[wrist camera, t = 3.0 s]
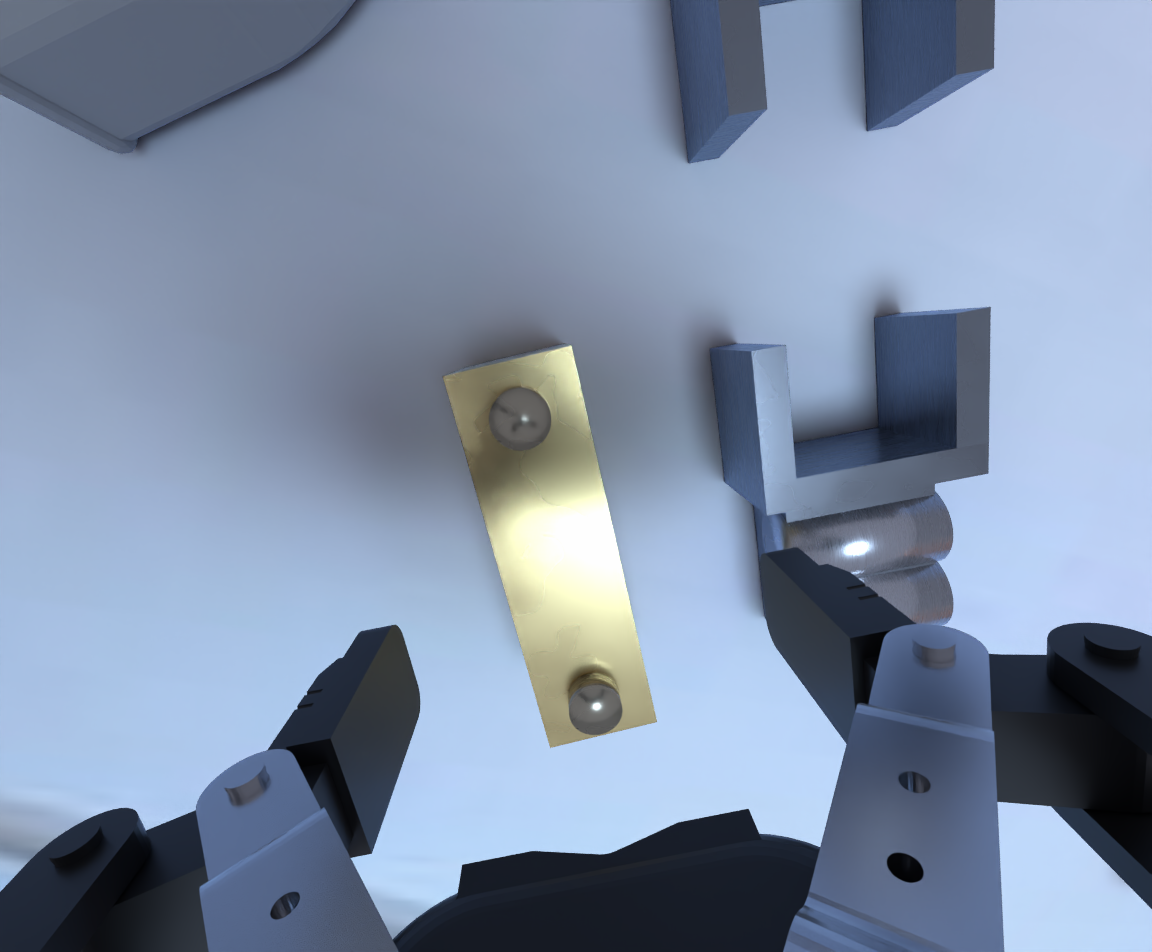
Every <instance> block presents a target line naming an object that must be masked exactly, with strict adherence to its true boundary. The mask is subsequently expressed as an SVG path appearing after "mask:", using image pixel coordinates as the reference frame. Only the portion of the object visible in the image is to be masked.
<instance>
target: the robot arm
mask: <svg viewBox="0 0 1152 952" xmlns="http://www.w3.org/2000/svg"><path fill="white" fill-rule="evenodd" d="M760 569H761V578H762V587H763V596H764V605H765V614H766V621H767V626H768V630H769V633H770V636H771V638H772V641H773V643H774V645H775V647H776V648H777V650H778V651H779V652H780V654H781V655H782V656H783V658H784V659H785V660H786V662H787V663H788V665H789V666H790V667H791V669H792V670H793V671H794V673H795V674H796V675H797V677H798V678H799V680H800V681H801V682H802V684H803V685H804V686H805V688H806V689H807V690H808V692H809V693H810V695H811V696H812V697H813V699H814V700H815V701H816V703H817V704H818V705H819V707H820V708H821V710H822V711H823V712H824V714H825V715H826V716H827V718H828V719H829V720H830V722H831V723H832V725H833V726H834V727H835V729H836V730H837V731H838V733H839V734H840V736H841V737H842V738H843V740H844V741H845V742H846V744H847V745H846V749H845V753H844V757H843V761H842V765H841V769H840V772H839V776H838V780H837V784H836V788H835V792H834V796H833V800H832V804H831V808H830V811H829V815H828V819H827V823H826V827H825V831H824V835H823V839H822V843H821V847H818V846H815V845H813V844H810V843H807V842H803V841H800V840H796V839H792V838H789V837H783V836H776V835H770V834H759V832H758V830H757V828H756V825H755V823H754V821H753V818H752V816H751V814H750V811H749V809H745V810H740V811H735V812H730V813H725V814H720V815H714V816H709V817H704V818H699V819H694V820H689V821H684V822H679V823H676V824H674V825H672V826H670V827H667V828H665V829H663V830H661V831H659V832H657V833H654V834H652V835H650V836H648V837H646V838H643V839H641V840H639V841H637V842H635V843H633V844H630V845H628V846H626V847H624V848H622V849H619V850H617V851H615V852H612V853H609V854H601V855H599V854H579V853H560V852H541V851H531V852H525V853H520V854H515V855H510V856H505V857H500V858H495V859H490V860H485V861H480V862H474V863H469V864H464V865H462V870H461V876H460V883H459V889H458V893H457V894H455V895H453V896H451V897H449V898H447V899H445V900H443V901H442V902H440V903H438V904H437V905H435V906H433V907H432V908H430V909H429V910H427V911H426V912H425V913H423V914H422V915H420V916H419V917H418V918H416V919H415V920H414V921H413V922H411V923H410V924H409V925H408V926H407V927H406V928H404V929H403V930H402V931H401V932H400V933H399V934H398V935H397V936H396V937H395V938H394V939H393V940H392V938H391V936H390V934H389V932H388V930H387V928H386V926H385V924H384V922H383V920H382V918H381V916H380V914H379V912H378V910H377V908H376V907H375V905H374V903H373V901H372V899H371V897H370V895H369V893H368V891H367V889H366V887H365V885H364V883H363V881H362V879H361V877H360V875H359V873H358V872H357V870H356V868H355V866H354V864H353V862H352V860H351V858H352V857H357V856H362V855H367V854H372V851H373V848H374V846H375V843H376V840H377V837H378V834H379V831H380V828H381V825H382V822H383V819H384V816H385V814H386V811H387V808H388V805H389V802H390V799H391V796H392V793H393V790H394V787H395V784H396V781H397V779H398V776H399V773H400V770H401V767H402V764H403V761H404V758H405V755H406V752H407V749H408V746H409V744H410V741H411V738H412V735H413V732H414V729H415V726H416V723H417V720H418V717H419V713H420V693H419V688H418V684H417V681H416V677H415V674H414V671H413V667H412V664H411V661H410V657H409V654H408V651H407V647H406V644H405V641H404V637H403V634H402V632H401V630H400V628H399V627H398V626H397V625H391V626H386V627H381V628H375V629H370V630H365V631H361V632H360V633H359V634H358V635H357V637H356V638H355V640H354V641H353V643H352V645H351V646H350V648H349V649H348V651H347V652H346V654H345V655H344V657H343V658H339V659H337V660H336V661H335V662H334V663H332V664H331V665H330V666H329V667H328V668H326V669H325V670H324V671H323V672H322V673H320V674H319V675H318V677H317V678H316V680H315V681H314V683H313V684H312V685H311V687H310V688H309V690H308V691H307V695H305V696H304V697H303V699H302V700H301V702H300V703H299V705H298V706H297V707H298V709H297V710H294V712H293V713H292V715H291V716H290V718H289V719H288V721H287V722H286V724H285V725H284V727H283V728H282V729H281V731H280V732H279V734H278V735H277V737H276V738H275V740H274V741H273V743H272V744H271V746H270V747H269V749H268V750H267V751H263V752H260V753H257V754H254V755H252V756H250V757H247V758H245V759H243V760H241V761H239V762H238V763H236V764H234V765H233V766H231V767H230V768H228V769H227V770H225V771H224V772H223V773H221V774H220V775H219V776H218V777H217V778H215V779H214V780H213V781H212V782H211V783H210V784H209V785H208V786H207V788H206V789H205V790H204V791H203V793H202V794H201V796H200V798H199V799H198V801H197V805H196V810H195V811H193V812H190V813H188V814H186V815H183V816H181V817H178V818H176V819H173V820H171V821H169V822H166V823H164V824H161V825H159V826H156V827H154V828H151V829H149V830H147V831H146V830H145V828H144V826H143V824H142V822H141V820H140V818H139V816H138V814H137V812H136V811H135V810H133V809H130V808H119V809H113V810H110V811H106V812H104V813H101V814H98V815H96V816H93V817H91V818H89V819H87V820H85V821H83V822H81V823H79V824H77V825H76V826H74V827H72V828H71V829H69V830H67V831H66V832H64V833H63V834H61V835H60V836H58V837H57V838H55V839H54V840H53V841H52V842H50V843H49V844H48V845H46V846H45V847H44V848H43V849H42V850H40V851H39V852H38V853H37V854H36V855H35V856H34V857H33V858H32V859H31V860H30V861H29V862H28V863H27V864H26V865H25V866H24V867H23V868H22V869H21V871H20V872H19V873H18V874H17V875H16V876H15V877H14V878H13V879H12V880H11V881H10V882H9V883H8V884H7V885H6V886H5V888H4V889H3V890H2V891H1V892H0V952H1004V936H1003V915H1002V893H1001V871H1000V849H999V827H998V806H997V802H1008V803H1020V804H1032V805H1044V806H1051V807H1052V808H1053V809H1054V810H1055V811H1056V812H1057V813H1058V814H1059V815H1060V816H1061V817H1062V818H1063V819H1064V820H1065V821H1066V822H1067V823H1068V824H1069V825H1070V826H1071V827H1072V828H1073V829H1074V830H1075V831H1076V832H1077V833H1078V834H1079V835H1080V837H1081V838H1082V839H1083V840H1084V841H1085V842H1086V843H1087V844H1088V845H1089V846H1090V847H1091V848H1092V849H1093V850H1094V851H1095V852H1096V853H1097V854H1098V855H1099V856H1100V857H1101V858H1102V859H1103V860H1104V861H1105V862H1106V863H1107V864H1108V865H1109V866H1110V867H1111V868H1112V869H1113V870H1114V871H1115V872H1116V873H1117V874H1118V875H1119V876H1120V877H1121V878H1122V879H1123V880H1124V881H1125V882H1126V883H1127V884H1128V885H1129V886H1130V887H1131V888H1132V889H1133V890H1134V891H1135V892H1136V893H1137V894H1138V895H1139V896H1140V897H1141V899H1142V900H1143V901H1144V902H1145V903H1146V904H1147V905H1148V906H1149V907H1150V908H1151V909H1152V636H1149V635H1147V634H1144V633H1141V632H1138V631H1135V630H1132V629H1128V628H1124V627H1119V626H1114V625H1108V624H1099V623H1074V624H1067V625H1062V626H1060V627H1057V628H1055V629H1053V630H1052V631H1051V632H1050V633H1049V634H1048V638H1047V655H999V654H988V651H987V649H986V647H985V646H984V645H983V644H982V643H981V642H980V641H978V640H977V639H976V638H974V637H972V636H971V635H969V634H967V633H964V632H962V631H959V630H956V629H953V628H949V627H945V626H940V625H932V624H916V623H915V622H913V621H912V620H911V619H910V618H908V617H907V616H906V615H904V614H903V613H902V612H901V611H899V610H898V609H897V608H895V607H894V606H893V605H892V604H890V603H889V602H888V601H886V600H885V599H884V598H883V597H881V596H880V597H879V596H878V594H877V593H876V592H875V591H874V590H872V589H871V588H870V587H868V586H867V587H866V586H865V583H863V582H862V581H861V580H860V579H858V578H857V577H856V576H854V575H853V574H852V573H851V572H848V571H846V570H843V569H840V568H838V567H835V566H832V565H829V564H824V565H818V564H817V563H816V562H815V561H813V560H812V559H811V558H810V557H809V556H808V555H806V554H805V553H804V552H803V551H802V550H800V549H799V548H798V547H793V548H788V549H783V550H778V551H773V552H768V553H763V554H761V557H760Z"/></svg>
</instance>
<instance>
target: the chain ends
mask: <svg viewBox="0 0 1152 952" xmlns="http://www.w3.org/2000/svg"><path fill="white" fill-rule="evenodd" d="M786 1H792V0H670V3H671V12H672V21H673V30H674V38H675V47H676V56H677V65H678V74H679V82H680V91H681V100H682V109H683V118H684V127H685V135H686V144H687V153H688V162H689V163H693V162H699V161H704V160H710V159H716V158H719V157H720V156H721V155H722V154H723V153H724V152H725V151H726V150H727V149H728V148H729V147H730V146H731V145H732V144H733V143H734V142H735V141H736V140H737V139H738V138H739V137H740V136H741V135H742V134H743V133H744V132H745V131H746V130H747V129H748V128H749V127H750V126H751V125H752V124H753V123H754V122H755V121H756V120H757V119H758V118H759V117H760V116H761V115H762V114H763V113H764V112H765V111H766V110H767V100H766V87H765V74H764V62H763V49H762V36H761V24H760V11H759V6H764V5H769V4H775V3H781V2H786ZM862 3H863V30H864V56H865V82H866V108H867V131H871V130H876V129H882V128H887V127H893V126H897V125H899V124H901V123H902V122H904V121H906V120H908V119H909V118H911V117H913V116H914V115H916V114H918V113H919V112H921V111H923V110H924V109H926V108H928V107H929V106H931V105H933V104H934V103H936V102H938V101H940V100H941V99H943V98H945V97H946V96H948V95H950V94H951V93H953V92H955V91H956V90H958V89H960V88H961V87H963V86H965V85H966V84H968V83H970V82H972V81H973V80H975V79H977V78H978V77H980V76H982V75H983V74H985V73H987V72H988V71H990V70H992V69H993V68H994V21H995V0H862ZM990 312H991V307H982V308H967V309H952V310H938V311H923V312H908V313H899V314H893V315H888V316H882V317H877V318H875V345H876V371H877V397H878V423H879V427H878V428H872V429H867V430H862V431H857V432H851V433H846V434H841V435H835V436H830V437H825V438H820V439H814V440H809V441H804V442H798V443H793V430H792V417H791V405H790V392H789V379H788V367H787V354H786V345H769V344H738V343H737V344H732V345H726V346H721V347H716V348H710V356H711V365H712V374H713V382H714V391H715V400H716V409H717V418H718V427H719V435H720V444H721V453H722V462H723V471H724V480H725V483H726V484H727V485H729V486H730V487H731V488H733V489H734V490H735V491H736V492H738V493H739V494H740V495H741V496H743V497H744V498H745V499H746V500H748V501H749V502H750V503H752V504H753V505H754V515H755V525H756V535H757V545H758V555H759V565H760V557H761V554H763V553H768V552H773V551H778V550H783V549H788V548H793V547H798V548H799V549H800V550H802V551H803V552H804V553H805V554H806V555H808V556H809V557H810V558H811V559H812V560H813V561H815V562H816V563H817V564H818V565H824V564H829V565H832V566H835V567H838V568H840V569H843V570H846V571H848V572H851V573H852V574H853V575H854V576H856V577H857V578H858V579H860V580H861V581H862V582H863V583H865V586H866V587H867V586H868V587H870V588H871V589H872V590H874V591H875V592H876V593H877V594H878V596H879V597H880V596H881V597H883V598H884V599H885V600H886V601H888V602H889V603H890V604H892V605H893V606H894V607H895V608H897V609H898V610H899V611H901V612H902V613H903V614H904V615H906V616H907V617H908V618H910V619H911V620H912V621H913V622H915V623H916V624H932V625H940V626H942V625H944V624H946V623H947V622H948V621H949V620H950V618H951V616H952V613H953V595H952V591H951V587H950V584H949V581H948V579H947V577H946V575H945V573H944V571H943V569H942V568H941V566H940V565H939V563H938V562H937V561H940V560H942V559H944V558H945V557H946V556H947V555H948V554H949V552H950V550H951V547H952V543H953V528H952V522H951V518H950V515H949V512H948V510H947V508H946V506H945V504H944V502H943V501H942V499H941V498H940V496H939V495H938V494H937V493H936V492H935V484H936V483H941V482H946V481H951V480H957V479H962V478H967V477H972V476H978V475H983V474H988V457H989V385H990ZM760 575H761V569H760ZM761 585H762V578H761ZM762 595H763V587H762ZM763 604H764V596H763ZM764 614H765V605H764ZM765 619H766V614H765Z"/></svg>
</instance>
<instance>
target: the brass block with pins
mask: <svg viewBox="0 0 1152 952" xmlns="http://www.w3.org/2000/svg"><path fill="white" fill-rule="evenodd" d="M443 380H444V383H445V386H446V390H447V393H448V397H449V400H450V404H451V407H452V411H453V414H454V418H455V421H456V424H457V428H458V431H459V435H460V438H461V442H462V445H463V449H464V452H465V455H466V459H467V462H468V466H469V469H470V473H471V476H472V480H473V483H474V486H475V490H476V493H477V497H478V500H479V504H480V507H481V511H482V514H483V517H484V521H485V524H486V528H487V531H488V535H489V538H490V542H491V545H492V548H493V552H494V555H495V559H496V562H497V566H498V569H499V573H500V576H501V580H502V583H503V586H504V590H505V593H506V597H507V600H508V604H509V607H510V611H511V614H512V617H513V621H514V624H515V628H516V631H517V635H518V638H519V642H520V645H521V648H522V652H523V655H524V659H525V662H526V666H527V669H528V673H529V676H530V679H531V683H532V686H533V690H534V693H535V697H536V700H537V704H538V707H539V710H540V714H541V717H542V721H543V724H544V728H545V731H546V735H547V738H548V742H549V745H550V748H551V747H555V746H560V745H564V744H568V743H572V742H576V741H580V740H584V739H588V738H593V737H597V736H601V735H605V734H609V733H613V732H617V731H622V730H626V729H630V728H634V727H638V726H642V725H646V724H651V723H655V722H657V720H656V715H655V711H654V707H653V702H652V698H651V693H650V689H649V685H648V680H647V676H646V671H645V667H644V663H643V658H642V654H641V649H640V645H639V641H638V636H637V632H636V627H635V623H634V619H633V614H632V610H631V605H630V601H629V597H628V592H627V588H626V583H625V579H624V575H623V570H622V566H621V561H620V557H619V553H618V548H617V544H616V539H615V535H614V531H613V526H612V522H611V517H610V513H609V509H608V504H607V500H606V495H605V491H604V486H603V482H602V478H601V473H600V469H599V464H598V460H597V456H596V451H595V447H594V442H593V438H592V434H591V429H590V425H589V420H588V416H587V412H586V407H585V403H584V398H583V394H582V390H581V385H580V381H579V376H578V372H577V368H576V363H575V359H574V354H573V350H572V346H571V345H568V344H560V345H556V346H552V347H548V348H543V349H539V350H535V351H531V352H527V353H523V354H518V355H514V356H510V357H506V358H502V359H498V360H493V361H489V362H485V363H481V364H477V365H472V366H468V367H465V368H463V369H460V370H457V371H455V372H452V373H450V374H447V375H445V376H443Z"/></svg>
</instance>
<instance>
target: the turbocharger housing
mask: <svg viewBox="0 0 1152 952" xmlns="http://www.w3.org/2000/svg"><path fill="white" fill-rule="evenodd" d="M355 1H356V0H0V94H1V95H3V96H5V97H7V98H9V99H11V100H13V101H15V102H17V103H19V104H21V105H23V106H25V107H27V108H29V109H31V110H32V111H34V112H36V113H38V114H40V115H42V116H44V117H46V118H48V119H50V120H52V121H54V122H56V123H58V124H60V125H62V126H64V127H66V128H67V129H69V130H71V131H73V132H75V133H77V134H79V135H81V136H83V137H85V138H87V139H89V140H91V141H93V142H95V143H97V144H99V145H101V146H102V147H104V148H106V149H108V150H111V151H114V152H117V153H120V154H123V153H130V152H133V150H134V149H135V147H136V146H137V142H138V138H139V137H141V136H143V135H145V134H147V133H149V132H152V131H154V130H156V129H158V128H160V127H162V126H164V125H166V124H168V123H170V122H172V121H174V120H176V119H178V118H180V117H182V116H184V115H186V114H189V113H191V112H193V111H195V110H197V109H199V108H201V107H203V106H205V105H207V104H209V103H211V102H213V101H215V100H217V99H219V98H221V97H223V96H226V95H228V94H230V93H232V92H234V91H236V90H238V89H240V88H242V87H244V86H246V85H248V84H250V83H252V82H254V81H256V80H258V79H260V78H263V77H265V76H267V75H269V74H271V73H273V72H275V71H277V70H279V69H281V68H282V67H284V66H285V65H287V64H289V63H290V62H292V61H293V60H295V59H296V58H298V57H299V56H301V55H302V54H303V53H305V52H306V51H307V50H308V49H310V48H311V47H312V46H314V45H315V44H316V43H317V42H319V41H320V40H321V39H322V38H323V37H324V36H325V35H326V34H327V33H328V32H329V31H330V30H331V29H332V28H333V27H335V26H336V24H337V23H338V22H339V21H340V20H341V18H342V17H343V16H344V15H345V13H346V12H347V11H348V10H349V8H350V7H351V6H352V5H353V3H354V2H355Z"/></svg>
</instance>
